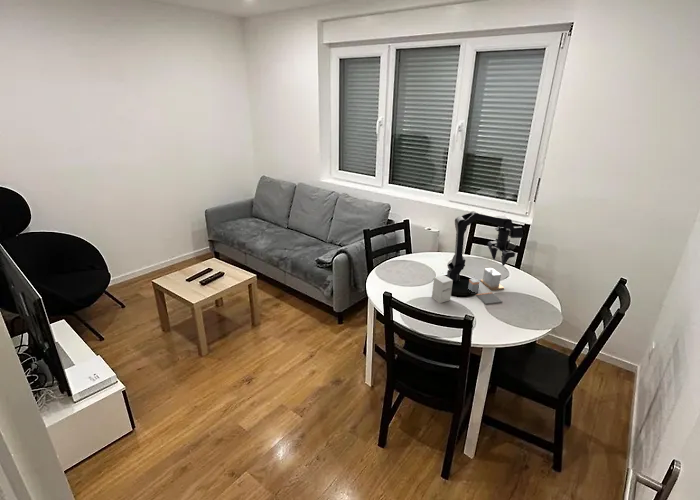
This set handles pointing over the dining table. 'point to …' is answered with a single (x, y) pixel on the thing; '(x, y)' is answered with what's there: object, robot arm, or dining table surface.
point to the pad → (488, 298)
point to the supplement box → (442, 288)
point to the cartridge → (473, 285)
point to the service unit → (492, 279)
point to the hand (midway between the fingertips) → (498, 262)
